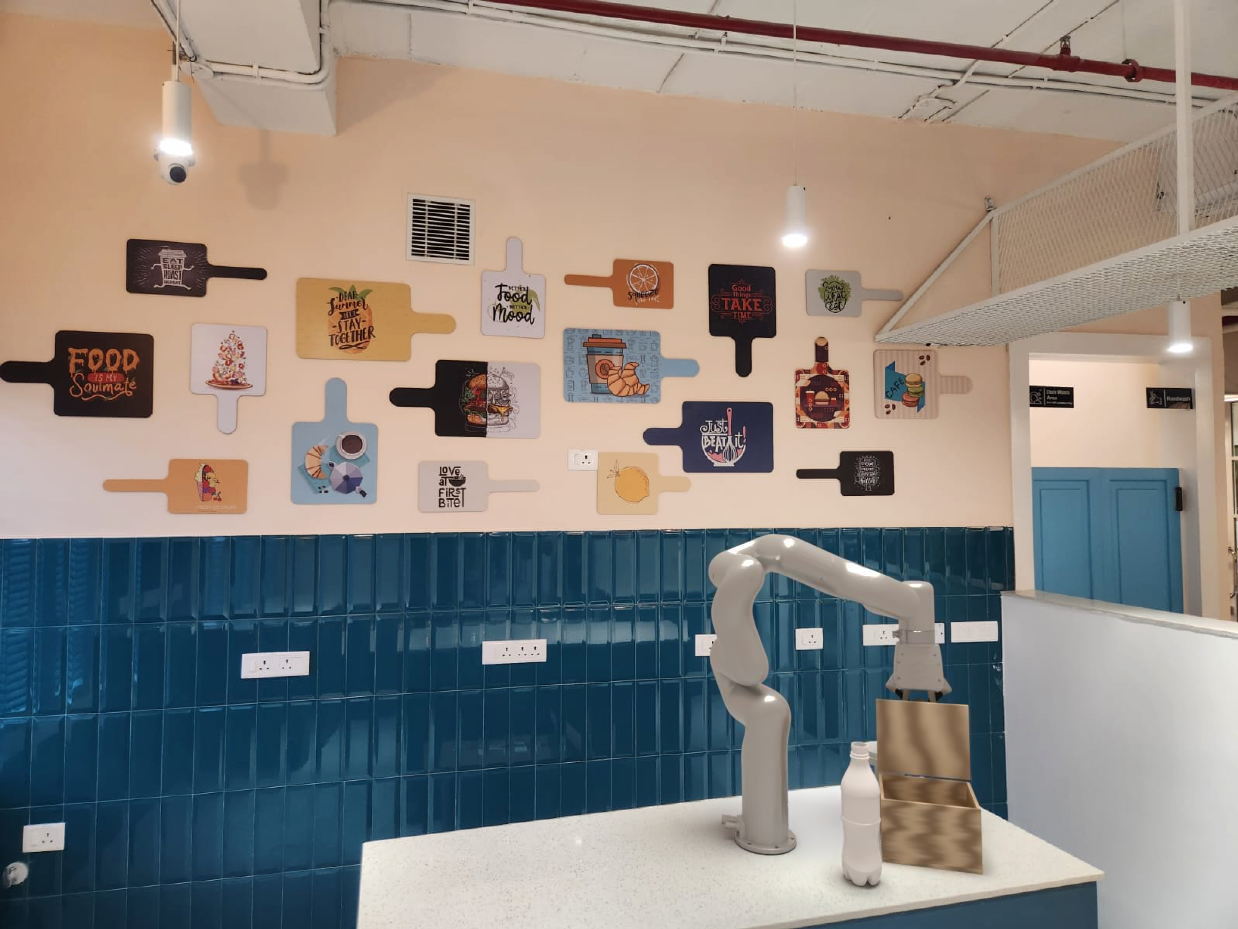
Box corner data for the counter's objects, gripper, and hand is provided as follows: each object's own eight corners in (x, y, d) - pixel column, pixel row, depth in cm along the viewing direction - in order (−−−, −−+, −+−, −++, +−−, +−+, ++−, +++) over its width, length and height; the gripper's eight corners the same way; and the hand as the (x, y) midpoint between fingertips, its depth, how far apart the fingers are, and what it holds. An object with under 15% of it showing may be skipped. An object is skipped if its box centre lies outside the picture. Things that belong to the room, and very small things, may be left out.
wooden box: (882, 861, 149) (881, 799, 149) (879, 829, 163) (878, 773, 164) (982, 874, 144) (981, 810, 144) (970, 840, 158) (969, 781, 159)
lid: (876, 699, 164) (874, 691, 172) (877, 771, 164) (876, 760, 171) (968, 706, 159) (963, 697, 167) (970, 780, 158) (965, 768, 166)
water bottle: (884, 891, 138) (881, 751, 139) (843, 887, 139) (841, 749, 140) (879, 872, 145) (876, 739, 146) (840, 868, 146) (838, 737, 147)
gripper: (878, 638, 168) (880, 722, 167) (959, 641, 163) (962, 728, 163) (877, 632, 175) (879, 712, 175) (955, 635, 171) (957, 718, 170)
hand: (919, 719), depth 169 cm, fingers closed on lid, 3 cm apart
